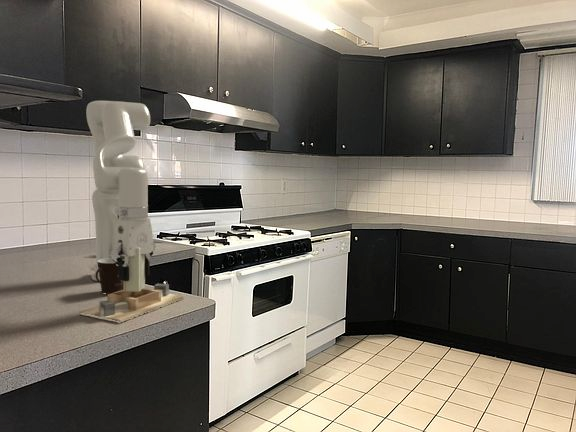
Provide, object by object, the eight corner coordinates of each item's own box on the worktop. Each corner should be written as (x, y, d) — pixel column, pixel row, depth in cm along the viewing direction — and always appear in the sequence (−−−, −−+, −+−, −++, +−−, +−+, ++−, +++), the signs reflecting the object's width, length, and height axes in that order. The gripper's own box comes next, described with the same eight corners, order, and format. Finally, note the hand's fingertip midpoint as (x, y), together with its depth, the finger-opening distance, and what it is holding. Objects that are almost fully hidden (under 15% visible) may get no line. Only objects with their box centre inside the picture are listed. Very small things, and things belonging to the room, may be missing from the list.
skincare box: (130, 286, 134) (129, 243, 133) (145, 286, 134) (145, 244, 133) (123, 292, 128) (122, 247, 126) (139, 292, 128) (139, 247, 127)
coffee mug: (118, 287, 152) (117, 256, 151) (133, 292, 147) (132, 260, 146) (83, 294, 143) (82, 261, 142) (97, 299, 138) (97, 265, 137)
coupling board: (79, 315, 123) (79, 300, 123) (146, 293, 146) (146, 280, 145) (120, 323, 117) (120, 307, 117) (183, 299, 140) (183, 286, 139)
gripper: (120, 217, 119) (121, 286, 121) (165, 212, 135) (166, 273, 137) (98, 215, 123) (99, 282, 124) (145, 210, 138) (145, 270, 140)
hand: (134, 277), depth 131 cm, fingers closed on skincare box, 7 cm apart
